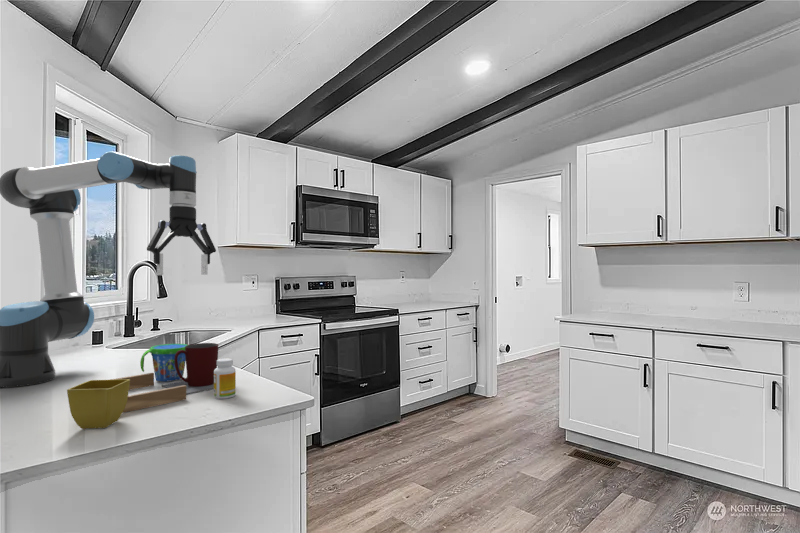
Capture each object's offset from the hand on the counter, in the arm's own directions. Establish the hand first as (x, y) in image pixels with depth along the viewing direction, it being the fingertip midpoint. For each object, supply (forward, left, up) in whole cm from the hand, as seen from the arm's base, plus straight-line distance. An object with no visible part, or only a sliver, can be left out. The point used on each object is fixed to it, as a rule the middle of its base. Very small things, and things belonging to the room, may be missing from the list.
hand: (182, 275), depth 144 cm
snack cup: (0, -4, -32) cm, 32 cm away
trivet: (+14, -2, -32) cm, 35 cm away
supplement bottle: (+30, -2, -32) cm, 44 cm away
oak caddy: (+14, -19, -32) cm, 39 cm away
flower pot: (+31, -31, -32) cm, 54 cm away
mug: (+14, -2, -31) cm, 35 cm away
